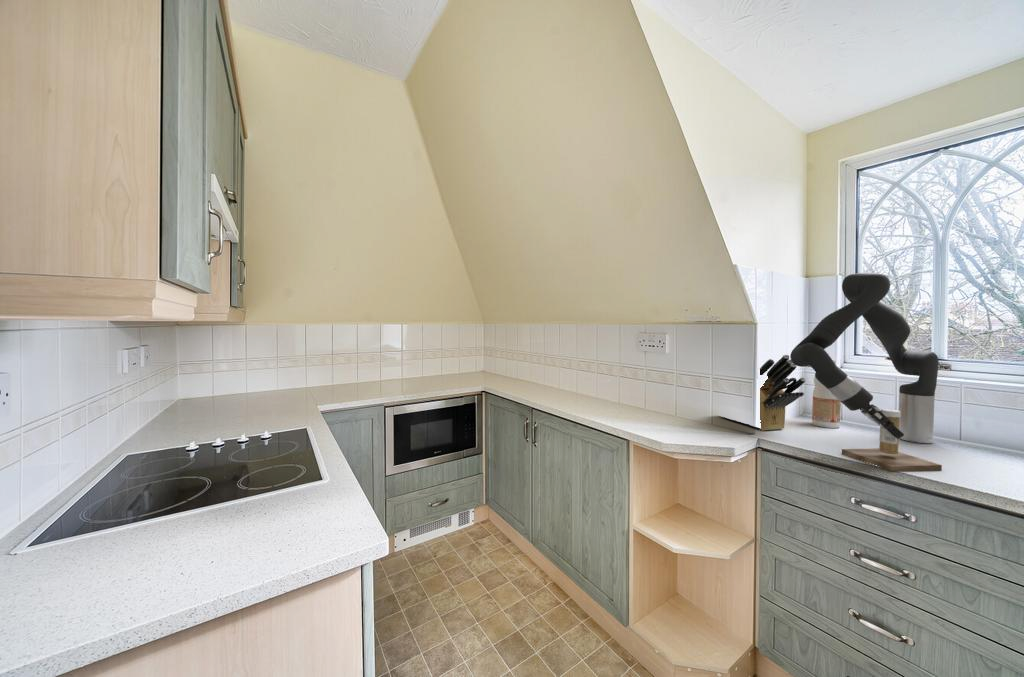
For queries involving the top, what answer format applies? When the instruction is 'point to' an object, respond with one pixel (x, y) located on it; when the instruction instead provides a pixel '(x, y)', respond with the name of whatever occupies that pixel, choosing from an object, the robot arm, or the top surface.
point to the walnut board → (892, 460)
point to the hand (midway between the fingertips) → (897, 434)
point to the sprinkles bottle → (886, 438)
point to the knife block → (777, 392)
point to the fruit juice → (825, 407)
